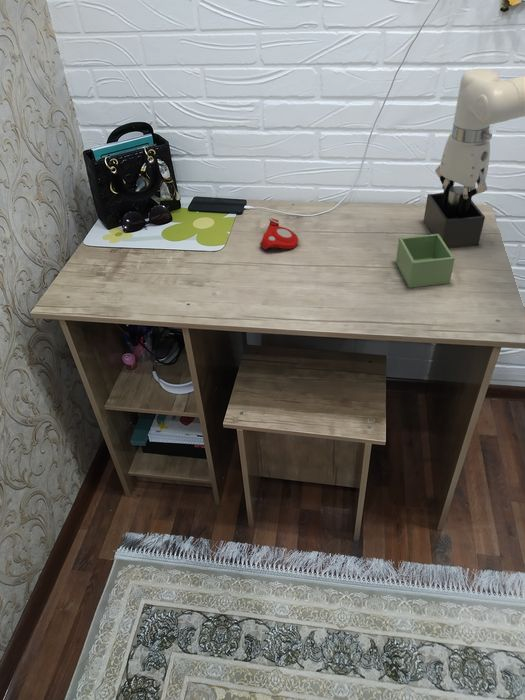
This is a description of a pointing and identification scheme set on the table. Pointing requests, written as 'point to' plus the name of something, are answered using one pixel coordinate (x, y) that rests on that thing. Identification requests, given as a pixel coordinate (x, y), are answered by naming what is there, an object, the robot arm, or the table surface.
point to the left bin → (424, 260)
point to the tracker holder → (278, 236)
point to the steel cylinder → (454, 199)
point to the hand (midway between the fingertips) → (455, 207)
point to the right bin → (453, 223)
